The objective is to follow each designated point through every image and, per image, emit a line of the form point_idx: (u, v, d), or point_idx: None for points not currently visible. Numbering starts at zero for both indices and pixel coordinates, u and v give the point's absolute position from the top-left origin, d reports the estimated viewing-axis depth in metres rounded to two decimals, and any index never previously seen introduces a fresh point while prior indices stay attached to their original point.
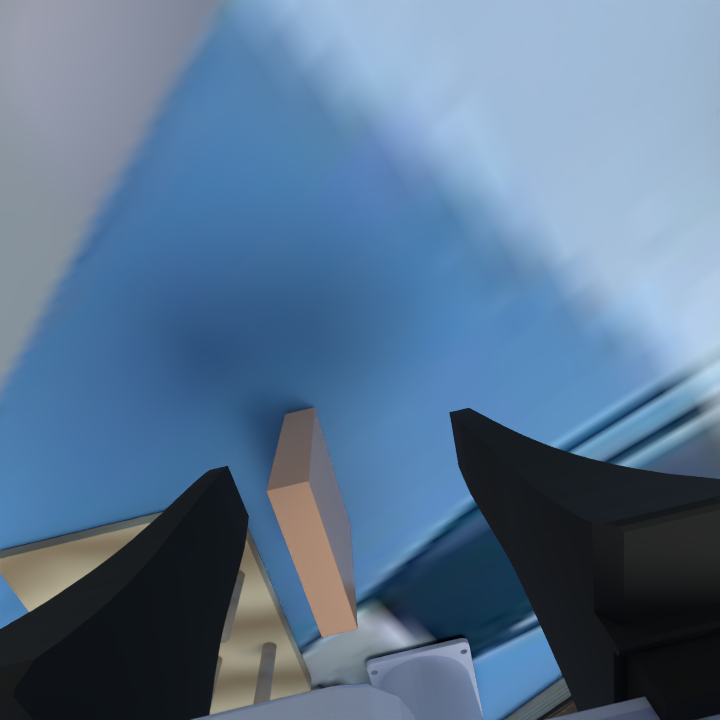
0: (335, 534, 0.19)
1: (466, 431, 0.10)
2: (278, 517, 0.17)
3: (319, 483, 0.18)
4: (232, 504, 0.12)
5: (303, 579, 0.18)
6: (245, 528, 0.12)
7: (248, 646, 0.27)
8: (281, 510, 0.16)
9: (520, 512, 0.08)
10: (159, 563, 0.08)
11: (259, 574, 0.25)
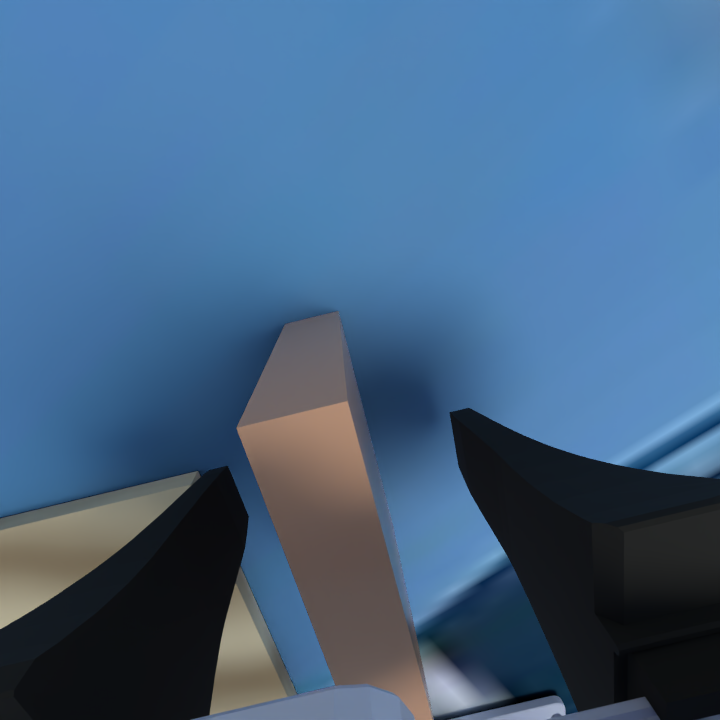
0: (390, 540, 0.09)
1: (466, 431, 0.10)
2: (268, 499, 0.07)
3: (361, 428, 0.08)
4: (232, 504, 0.12)
5: (328, 644, 0.08)
6: (245, 528, 0.12)
7: None
8: (276, 480, 0.06)
9: (520, 512, 0.08)
10: (159, 563, 0.08)
11: (242, 605, 0.15)
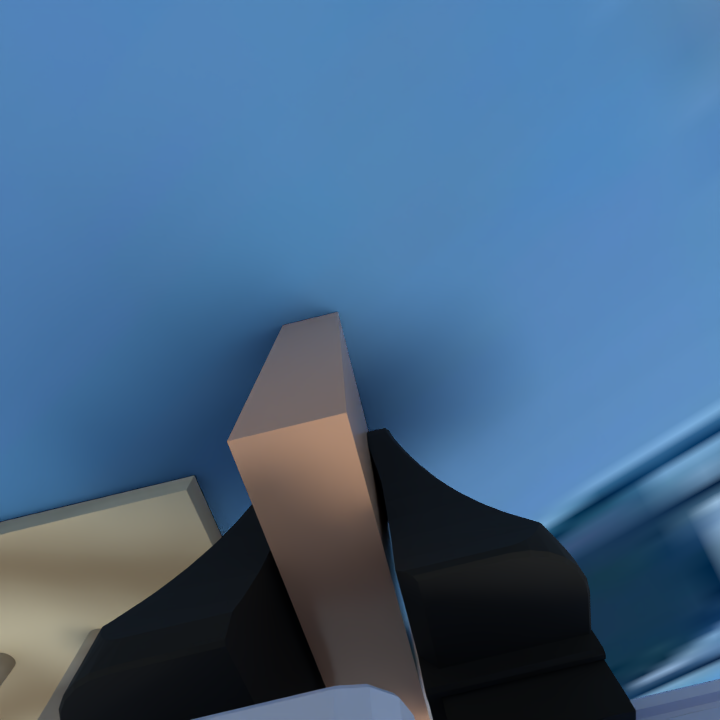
0: (391, 553, 0.09)
1: None
2: (262, 516, 0.06)
3: (361, 437, 0.08)
4: None
5: (325, 665, 0.07)
6: None
7: None
8: (270, 497, 0.06)
9: None
10: None
11: None
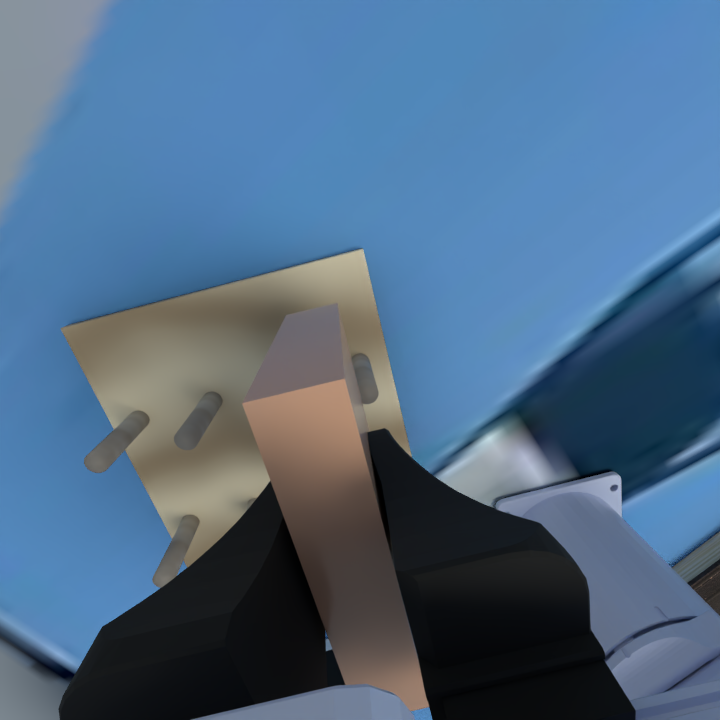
0: (385, 518, 0.10)
1: None
2: (271, 471, 0.07)
3: (358, 409, 0.09)
4: None
5: (326, 611, 0.08)
6: None
7: None
8: (278, 453, 0.07)
9: None
10: (284, 533, 0.08)
11: (387, 361, 0.20)
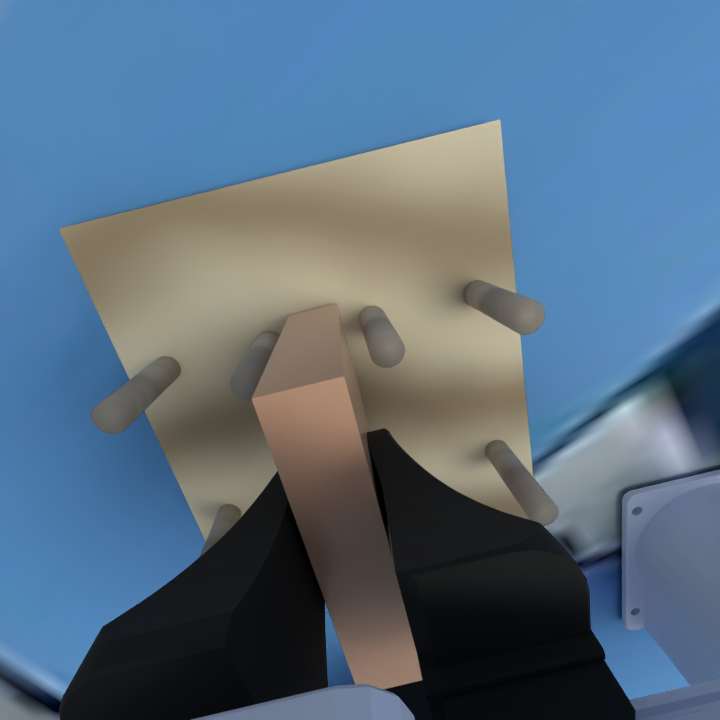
0: (382, 505, 0.11)
1: (370, 454, 0.10)
2: (278, 460, 0.08)
3: (356, 405, 0.10)
4: None
5: (327, 589, 0.09)
6: None
7: (463, 446, 0.17)
8: (284, 444, 0.08)
9: None
10: (284, 533, 0.08)
11: None
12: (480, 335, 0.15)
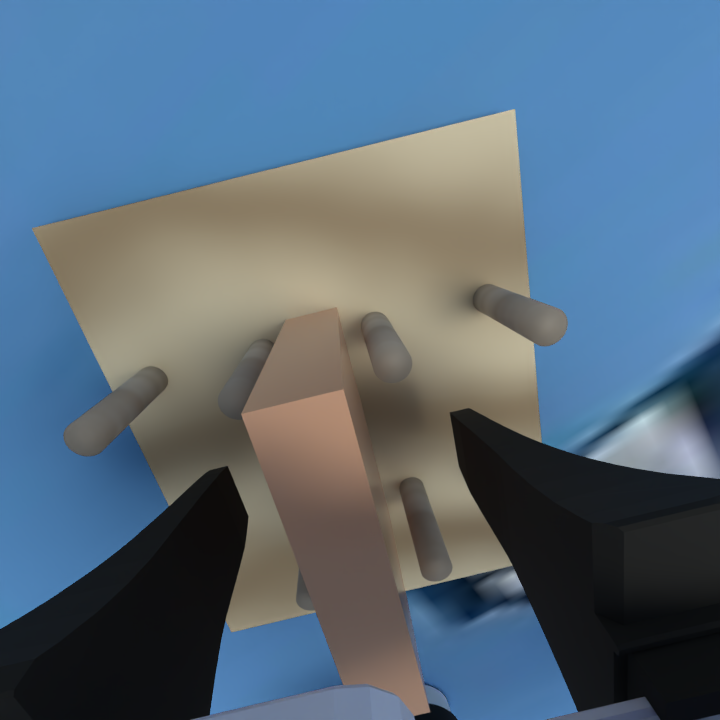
0: (385, 524, 0.10)
1: (466, 431, 0.10)
2: (270, 481, 0.07)
3: (357, 417, 0.09)
4: (232, 504, 0.12)
5: (325, 619, 0.08)
6: (245, 528, 0.12)
7: None
8: (277, 463, 0.07)
9: (520, 512, 0.08)
10: (159, 563, 0.08)
11: None
12: (491, 343, 0.14)
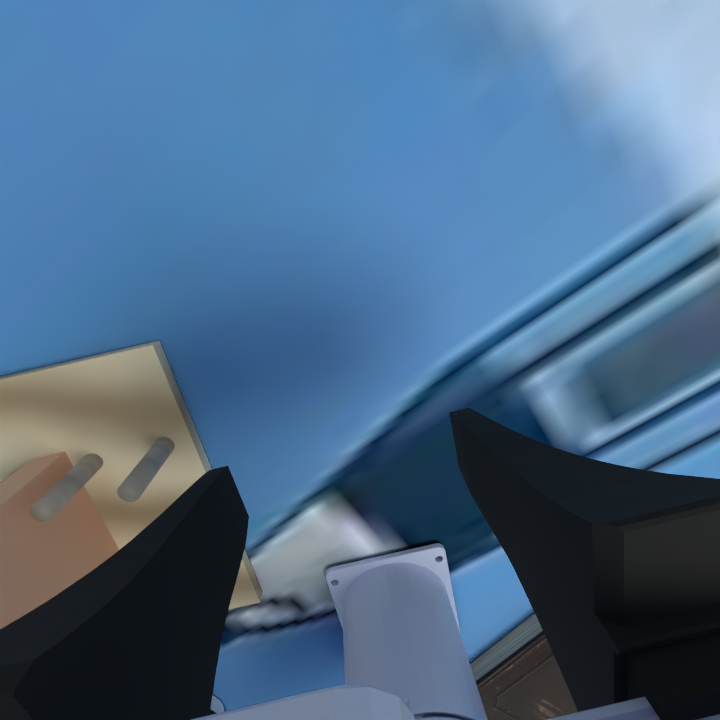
0: (37, 602, 0.17)
1: (466, 431, 0.10)
2: None
3: (3, 549, 0.16)
4: (232, 504, 0.12)
5: None
6: (245, 528, 0.12)
7: None
8: None
9: (520, 512, 0.08)
10: (159, 563, 0.08)
11: (192, 445, 0.21)
12: (175, 470, 0.22)
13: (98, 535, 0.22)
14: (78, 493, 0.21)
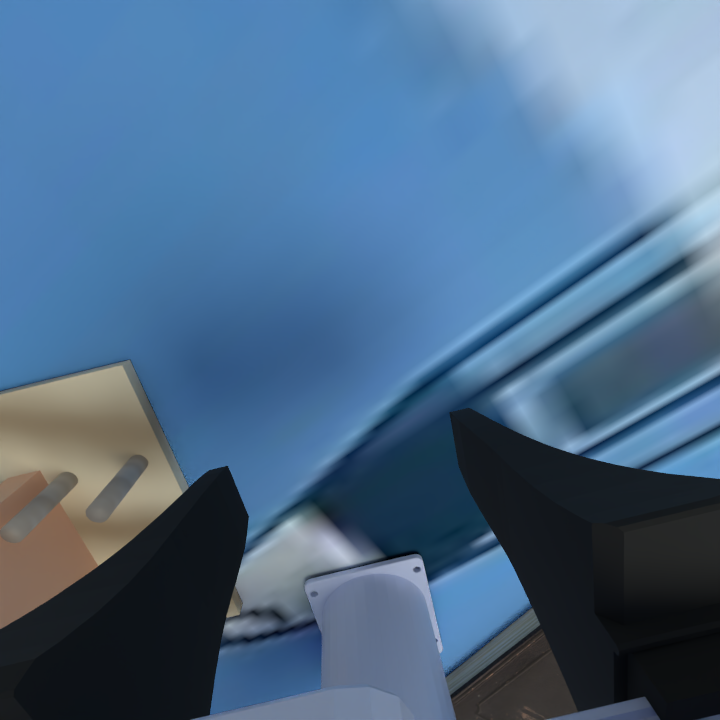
0: (9, 622, 0.18)
1: (466, 431, 0.10)
2: None
3: None
4: (232, 504, 0.12)
5: None
6: (245, 528, 0.12)
7: None
8: None
9: (520, 512, 0.08)
10: (159, 563, 0.08)
11: (165, 462, 0.21)
12: (150, 487, 0.22)
13: (75, 552, 0.22)
14: (53, 511, 0.21)
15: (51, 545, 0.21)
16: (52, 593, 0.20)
